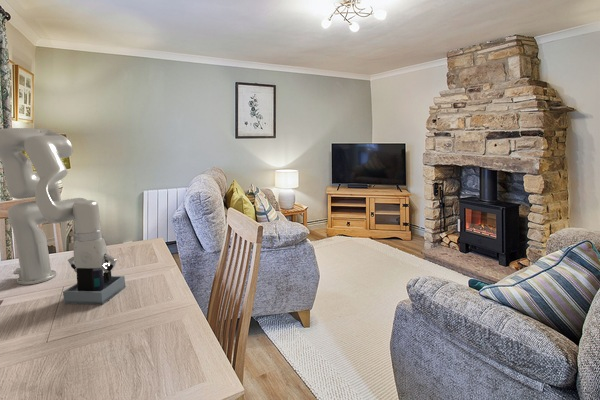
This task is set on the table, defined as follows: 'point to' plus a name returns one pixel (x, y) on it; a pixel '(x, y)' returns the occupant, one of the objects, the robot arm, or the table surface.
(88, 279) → the speaker
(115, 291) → the open box
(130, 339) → the table surface
